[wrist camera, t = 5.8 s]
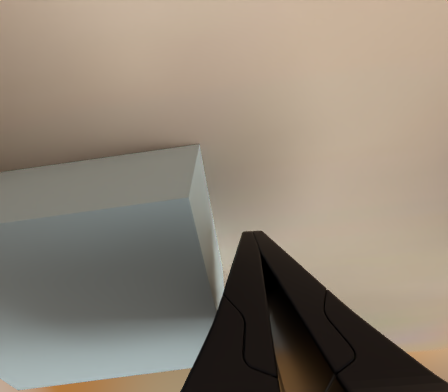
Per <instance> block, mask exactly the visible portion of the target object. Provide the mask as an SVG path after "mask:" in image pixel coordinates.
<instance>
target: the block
mask: <svg viewBox="0 0 448 392" xmlns="http://www.w3.org/2000/svg"><path fill="white" fill-rule="evenodd" d="M223 292H224V282H223V268H222V263H221V258H220V252H219V247H218V241H217V236H216V231H215V225H214V220H213V214H212V209H211V203H210V198H209V193H208V187H207V182H206V176H205V171H204V166H203V160H202V155H201V149H200V144H196V145H189V146H182V147H175V148H168V149H161V150H153V151H146V152H139V153H132V154H125V155H118V156H111V157H104V158H97V159H90V160H83V161H76V162H69V163H62V164H54V165H47V166H40V167H33V168H26V169H19V170H12V171H5V172H0V379H2V380H3V381H5V382H6V383H8V384H9V385H11V386H12V387H14V388H15V389H17V390H25V389H32V388H40V387H48V386H55V385H63V384H71V383H79V382H87V381H94V380H102V379H110V378H117V377H125V376H133V375H140V374H148V373H156V372H164V371H172V370H180V369H187V368H192V367H193V364H194V362H195V360H196V358H197V356H198V354H199V352H200V350H201V348H202V346H203V343H204V341H205V339H206V337H207V335H208V332H209V330H210V328H211V325H212V323H213V321H214V318H215V315H216V312H217V310H218V307H219V304H220V301H221V298H222V296H223Z"/></svg>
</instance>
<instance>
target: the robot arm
mask: <svg viewBox="0 0 448 392" xmlns="http://www.w3.org/2000/svg"><path fill="white" fill-rule="evenodd" d="M180 392H448V382H446V381H444V380H443V379H441V378H440V377H438V376H437V375H435V374H434V373H433V372H431V371H430V370H428V369H427V368H426V367H424V366H423V365H422V364H420V363H419V362H418V361H416V360H415V359H414V358H413V357H411V356H410V355H409V354H407V353H406V352H405V351H403V350H402V349H401V348H399V347H398V346H397V345H396V344H394V343H393V342H392V341H390V340H389V339H388V338H386V337H385V336H384V335H382V334H381V333H380V332H379V331H377V330H376V329H375V328H373V327H372V326H371V325H370V324H368V323H367V322H366V321H364V320H363V319H362V318H361V317H359V316H358V315H357V314H356V313H354V312H353V311H352V310H351V309H350V308H348V307H347V306H346V305H345V304H344V303H343V302H341V301H340V300H339V299H338V298H337V297H336V296H335V295H333V294H332V293H331V292H330V291H329V290H326V288H325V287H324V286H323V285H322V284H321V283H320V282H319V281H318V280H316V279H315V278H314V277H313V276H312V275H311V274H310V273H309V272H308V271H306V270H305V269H304V268H303V267H302V266H301V265H300V264H299V263H297V262H296V261H295V260H294V259H293V258H292V257H291V256H290V255H288V254H287V253H286V252H285V251H284V250H283V249H282V248H281V247H279V246H278V245H277V244H276V243H275V242H274V241H273V240H272V239H270V238H269V237H268V236H267V235H266V234H265V233H264V232H263V231H253V232H252V231H245V232H243V233H242V235H241V238H240V241H239V245H238V248H237V251H236V254H235V257H234V260H233V263H232V267H231V270H230V273H229V276H228V279H227V282H226V285H225V289H224V292H223V296H222V298H221V301H220V304H219V307H218V310H217V312H216V315H215V318H214V321H213V323H212V325H211V328H210V330H209V332H208V335H207V337H206V339H205V341H204V343H203V346H202V348H201V350H200V352H199V354H198V356H197V358H196V360H195V362H194V364H193V367H192V369H191V371H190V373H189V375H188V377H187V379H186V381H185V384H184V386H183V388H182V390H181V391H180Z"/></svg>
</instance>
